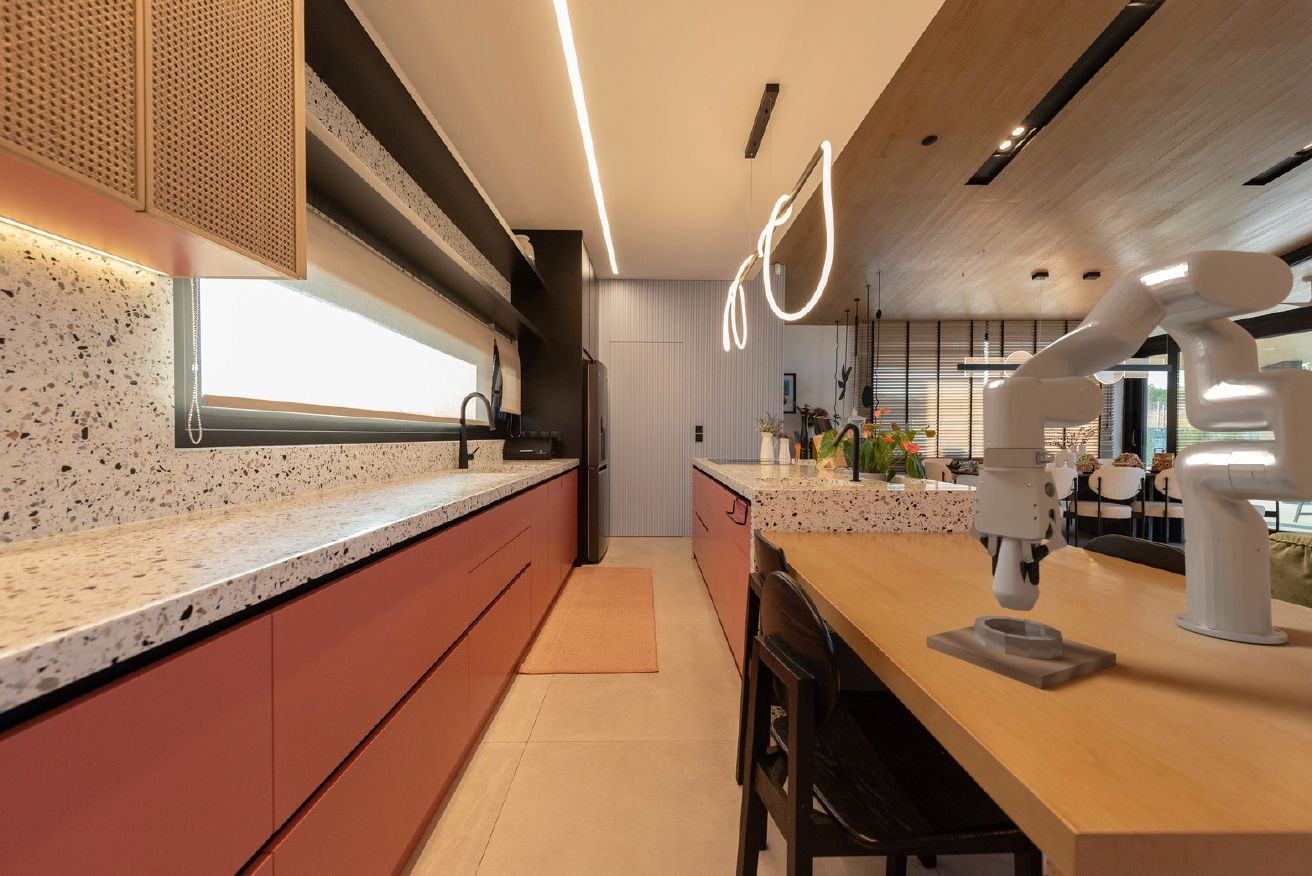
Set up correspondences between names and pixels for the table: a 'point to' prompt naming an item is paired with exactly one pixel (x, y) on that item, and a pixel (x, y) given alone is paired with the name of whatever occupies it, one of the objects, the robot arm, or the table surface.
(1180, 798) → the table surface
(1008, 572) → the salt shaker
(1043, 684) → the collar board
